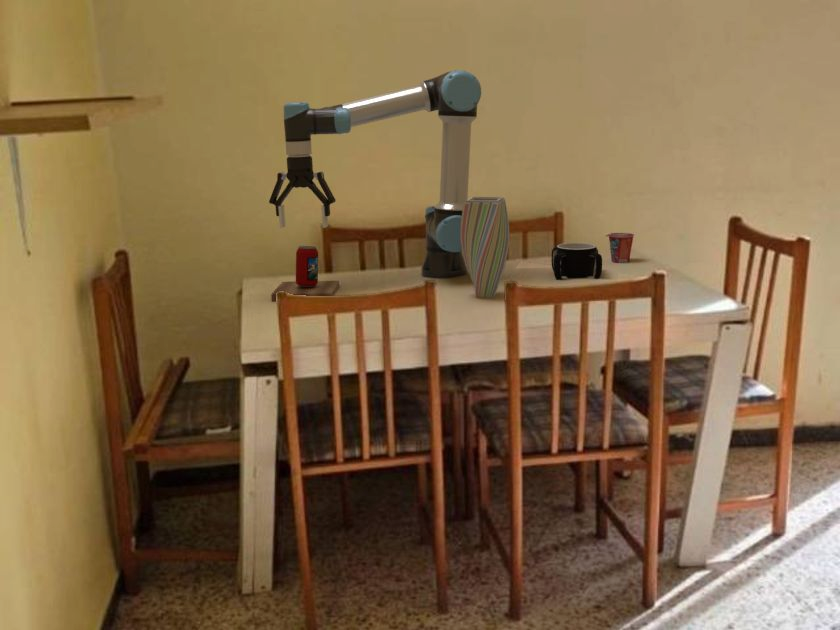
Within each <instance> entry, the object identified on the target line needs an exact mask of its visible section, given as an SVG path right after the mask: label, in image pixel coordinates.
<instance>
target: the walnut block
mask: <svg viewBox="0 0 840 630" xmlns="http://www.w3.org/2000/svg"><path fill="white" fill-rule="evenodd" d="M339 288H340V281H339V280H318V284H317V285H315V286H314V287H301V286H299V285H297V284H296V280H295V281H294V280H293V281H282V282H281V283H280V284H279V285H277V287H276V288H275V290H273V292H272V293H271V295H270V296H271V302H272V303H273V302H274V303H275V302H276V293H277V292H279V291H284V292H287V293H289V294H293V295H306V296H333V297H334V296H335V294H336V293H337V291H338V289H339ZM276 303H277V302H276Z"/></svg>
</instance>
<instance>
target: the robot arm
mask: <svg viewBox="0 0 840 630" xmlns="http://www.w3.org/2000/svg"><path fill="white" fill-rule="evenodd" d="M479 81H480V80H478V78H477V77H476V76H475V75H474V74H472V73H471V72H469V71H466V70H462V69H457V70H456V69H455V70H451V71H448V72H445V73H443V74H440V75H438V76H434V77H432V78H430V79H427V80H423V81H422V80H421V82H420V84H419V85H416V86H412V87H407V88H403V89H398V90H395V91H391V92H386V93H382V94H377V95H373V96H370V97H369V96H368V97H365V98H361V99H357V100H353V101H349V102H344V103H341V104H336V105H332V106H325V107H322V108H311V107H310V104H309V103H308V102H307V101H301V102H286V103H285V104H284V105H283V124H284V128H283V129H284V139H285V140H284V141H285V155H287V157H286V169H287V173H285V172H283V171H280V172H278V173H277V175H276V177H277V179H276V182H275V184H274V188H273V190H272V192H271V195H270V197H269V202H268V203H269V204H272V205H274V207H275V215H276V217H278V219H279V228H281V229H283V228H285V227H286V217H285V215H286V214H285V205H284V204H283V202H284V200H286V198H287V196H289V194H290V193H291V191H292V190H293V189H294V188H295V189H298V188H303V189H305V188H308V189H309V190H311V192H312V193H313V194H314V195H315V196H316V197H317V198H318V200H319V201H320V202H321V203H322V204H323V205H321V222H322V223H321V225H322V229H326V228H328V227H329V222H328V221H329V220H328V217H330V215H331V207H330V206H331V204H334V203H336V200H337V199H336V198H335V196H334V194H333V193H332V190H331V189H330V186H329V185H328V183H327V181H326V179H325V174H324V172H323V171H319V172H314V170H313V169H314V168H313V167H314V166H313V157H312V156H311V155H312V154H313V151H312V150H313V149H312V138H311V137H312V136H313V135H342V134H349V133H350V132H351V130H352V128H353V127H354V128H355V127H357V126H362V125H367V124H370V123H374V122H379V121H383V120H387V119H391V118H395V117H400V116H403V115H407V114H412V113H417V112H421V111H426V112H427V113H431V112H435V111H436V112H437V117H438V118H439V120H441V122H442V133H441V136H442V137H441V160H440V163H441V164H440V181H439V183H440V184H439V188H440V189H439V201H438V202H437V204H436V205H431V206H427V207H426V208H425V213H424V218H425V248H426V249H425V250H426V251H425V256H424V260H423V262H422V267H421V276H422V277H424V278H427V279H453V278H458V277H463V276H466V275H467V274H468V268H467V265H466V262H465V259H464V255H463V251H462V245H461V235H460V234H461V219H462V211H463V205H464V202H465V201H466V200H468V199H469V197H468V195H469V179H470V178H469V177H470V176H469V175H470V159H471V156H470V155H471V154H470V153H471V135H472V134H471V133H472V124H473V122H474V121H475V120H476V119H477V116H478V114H477V113H478V105H479V102H480V100H481V97H482V86H481V82H479ZM286 179H287V180H288V181H289V182H288V183H287V185H286V186H285V188H284V189H283V191H282V192H281V194H280V191H281V189H282V186H283V184H284V182H285V180H286ZM314 179H316V181H318V184H319V185H320V188H321V189H322V191H323V192H322V191H321V190H320V188H318V186H317V185H316V183H315V182H314V181H313V180H314ZM279 194H280V195H279Z"/></svg>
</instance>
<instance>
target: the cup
mask: <svg viewBox="0 0 840 630" xmlns="http://www.w3.org/2000/svg"><path fill="white" fill-rule="evenodd" d="M605 237H608V239H609V249H610V259H611V262H612V263H613V264H625V263H629V262H630V258H631V253H632V245H633V241H634V237H635V234H634V233H631V232H612V233H608V234H606V235H605Z"/></svg>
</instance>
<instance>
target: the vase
mask: <svg viewBox="0 0 840 630" xmlns="http://www.w3.org/2000/svg"><path fill="white" fill-rule="evenodd" d="M506 203H507V201H506V199H505V198H504V197H503V196H471V197H470V198H469V197H468V199H467V200H466V201H465V202H464V205H463V211H462V219H461V234H460V235H461V245H462V254H463V257H464V260H465V263H466V266H467V272H468V274H469V276H470V279H471V283H472V285H473V289H474V293H475V295H474V296H475V298H476V299H477V298H480V299H481V298H482V299H483V298H495V297H496V295H497V291H498V288H499V285H500V283H501V280H502V276H503V273H504V269H505V266H506V264H507V263H506V262H507V258H508V252H509V245H510V244H509V243H510V223H509V216H508V215H509V213H508V207H507V204H506Z"/></svg>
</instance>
